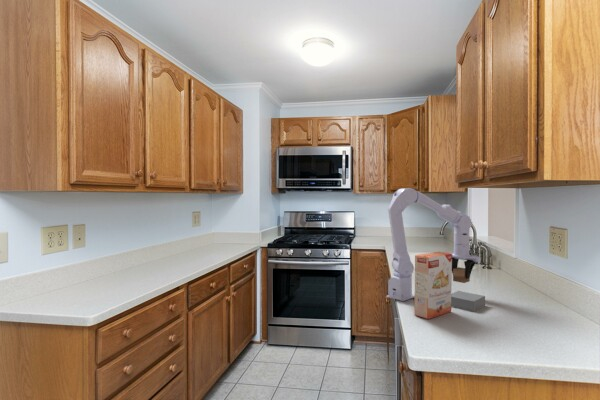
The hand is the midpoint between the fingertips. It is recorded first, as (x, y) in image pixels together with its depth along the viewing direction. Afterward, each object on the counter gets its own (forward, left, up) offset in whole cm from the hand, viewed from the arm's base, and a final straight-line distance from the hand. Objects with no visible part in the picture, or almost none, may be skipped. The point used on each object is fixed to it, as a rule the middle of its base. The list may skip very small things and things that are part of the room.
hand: (461, 277), depth 146 cm
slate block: (-11, -7, -8) cm, 15 cm away
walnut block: (0, 0, -2) cm, 2 cm away
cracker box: (-28, -4, -8) cm, 30 cm away
